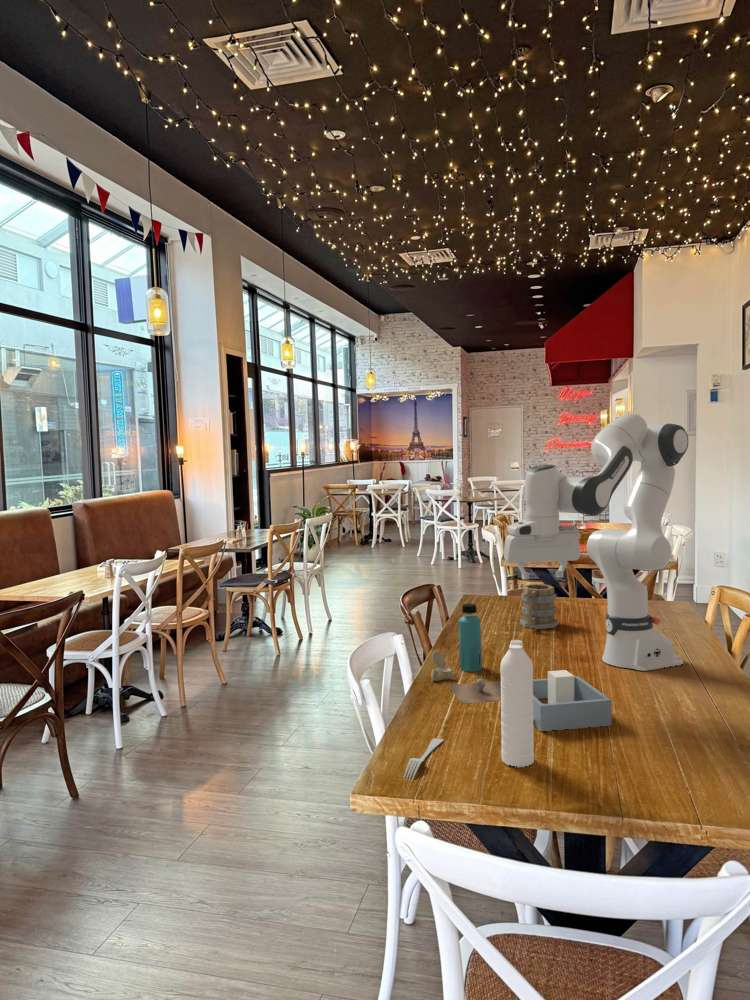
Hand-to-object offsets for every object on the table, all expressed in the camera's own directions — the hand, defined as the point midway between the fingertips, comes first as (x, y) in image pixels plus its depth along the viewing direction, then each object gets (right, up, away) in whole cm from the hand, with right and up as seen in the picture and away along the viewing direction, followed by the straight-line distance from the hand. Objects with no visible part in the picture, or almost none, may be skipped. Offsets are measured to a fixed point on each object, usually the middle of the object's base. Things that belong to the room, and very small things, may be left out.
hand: (542, 578), depth 181 cm
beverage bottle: (-17, -29, +13) cm, 36 cm away
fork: (-34, -33, -39) cm, 62 cm away
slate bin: (0, -31, -18) cm, 35 cm away
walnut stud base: (-17, -30, -6) cm, 35 cm away
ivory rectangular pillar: (0, -30, -18) cm, 35 cm away
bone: (-26, -30, +6) cm, 40 cm away
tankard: (+13, -25, +62) cm, 68 cm away
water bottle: (-16, -33, -43) cm, 56 cm away
